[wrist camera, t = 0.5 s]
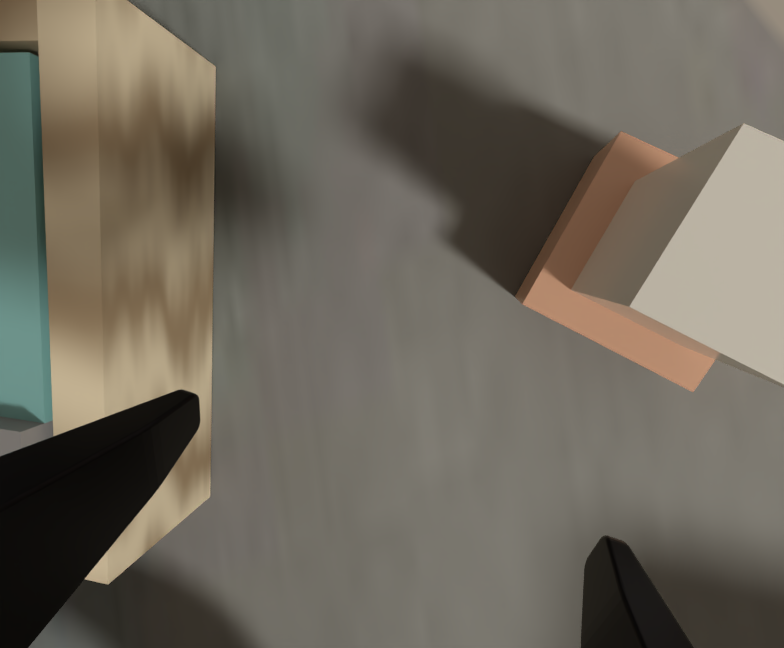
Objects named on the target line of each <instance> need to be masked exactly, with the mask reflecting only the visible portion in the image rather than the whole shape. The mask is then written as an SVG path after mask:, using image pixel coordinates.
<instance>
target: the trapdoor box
mask: <svg viewBox="0 0 784 648" xmlns="http://www.w3.org/2000/svg"><path fill="white" fill-rule="evenodd" d="M17 52H30V53H32V54H34V55H36V56H38V57H39V74H40V100H41V126H42V152H43V178H44V204H45V230H46V256H47V282H48V307H49V333H50V359H51V385H52V411H53V436H56V435H58V434H61V433H64V432H66V431H69V430H72V429H74V428H77V427H80V426H82V425H85V424H88V423H91V422H93V421H96V420H99V419H101V418H104V417H107V416H109V415H112V414H115V413H117V412H120V411H123V410H125V409H128V408H131V407H133V406H136V405H139V404H141V403H144V402H147V401H149V400H152V399H155V398H158V397H160V396H163V395H166V394H168V393H171V392H174V391H176V390H180V389H183V390H186V391H189V392H192V393H195V394H197V395H198V397H199V402H200V419H201V420H200V426H199V428H198V430H197V432H196V434H195V435H194V437H193V438H192V440H191V441H190V443H189V444H188V446H187V447H186V449H185V450H184V452H183V453H182V455H181V456H180V458H179V459H178V461H177V462H176V464H175V465H174V467H173V468H172V470H171V471H170V473H169V474H168V476H167V477H166V479H165V480H164V482H163V483H162V484H161V486H160V487H159V489H158V490H157V491H156V492H155V494H154V495H153V496H152V497H151V499H150V500H149V501H148V502H147V504H146V505H145V506H144V507H143V508H142V510H141V511H140V512H139V513H138V514H137V516H136V517H135V518H134V519H133V521H132V522H131V523H130V524H129V525H128V527H127V528H126V529H125V530H124V532H123V533H122V534H121V535H120V536H119V538H118V539H117V540H116V541H115V542H114V544H113V545H112V546H111V547H110V549H109V550H108V551H107V552H106V553H105V555H104V556H103V557H102V558H101V559H100V561H99V562H98V563H97V564H96V566H95V567H94V568H93V569H92V570H91V572H90V573H89V574H88V575H87V577H86V578H85V580H90V581H94V582H99V583H103V584H109V583H111V582H112V581H113V580H114V579H115V578H116V577H118V576H119V575H120V574H121V573H122V572H123V571H124V570H126V569H127V568H128V567H129V566H130V565H131V564H133V563H134V562H135V561H136V560H137V559H138V558H140V557H141V556H142V555H143V554H144V553H145V552H146V551H148V550H149V549H150V548H151V547H152V546H153V545H155V544H156V543H157V542H158V541H159V540H160V539H162V538H163V537H164V536H165V535H166V534H167V533H169V532H170V531H171V530H172V529H173V528H174V527H175V526H177V525H178V524H179V523H180V522H181V521H182V520H184V519H185V518H186V517H187V516H188V515H189V514H191V513H192V512H193V511H194V510H195V509H196V508H197V507H199V506H200V505H201V504H202V503H203V502H204V501H206V500H207V499H208V498H209V497H210V480H211V402H212V324H213V246H214V168H215V90H216V66H214V65H213V64H212V63H210V62H209V61H208V60H206V59H205V58H204V57H202V56H201V55H200V54H198V53H197V52H196V51H194V50H193V49H192V48H190V47H189V46H187V45H186V44H185V43H183V42H182V41H181V40H179V39H178V38H177V37H175V36H174V35H173V34H171V33H170V32H169V31H167V30H166V29H165V28H163V27H162V26H161V25H159V24H158V23H157V22H155V21H154V20H153V19H151V18H150V17H149V16H147V15H146V14H145V13H143V12H142V11H141V10H139V9H138V8H137V7H135V6H134V5H133V4H131V3H130V2H128V1H127V0H0V53H17Z"/></svg>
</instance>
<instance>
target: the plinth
mask: <svg viewBox="0 0 784 648" xmlns="http://www.w3.org/2000/svg"><path fill="white" fill-rule="evenodd" d="M676 159H678V157H676V156H674V155H672V154H669V153H667V152H665V151H663V150H661V149H659V148H656V147H654V146H652V145H650V144H648V143H645V142H643V141H641V140H639V139H637V138H635V137H632V136H630V135H628V134H626V133H624V132H622V131H621V132H620V133H619V134H617V135H616V136H615V137H614V138H613V139H612V140H611V141H610V142H609V143H608V144H607V145H606V146H605V147H604V148H603V149H602V150H600V151H599V152H598V153H597V154H596V155H595V156H594V157H593V159H592V161H591V163H590V164H589V166H588V168H587V170H586V172H585V173H584V175H583V177H582V179H581V180H580V182H579V184H578V186H577V187H576V189H575V191H574V193H573V195H572V196H571V198H570V200H569V202H568V203H567V205H566V207H565V209H564V211H563V212H562V214H561V216H560V218H559V219H558V221H557V223H556V225H555V226H554V228H553V230H552V232H551V234H550V235H549V237H548V239H547V241H546V242H545V244H544V246H543V248H542V249H541V251H540V253H539V255H538V257H537V258H536V260H535V262H534V264H533V265H532V267H531V269H530V271H529V272H528V274H527V276H526V278H525V280H524V281H523V283H522V285H521V287H520V288H519V290H518V292H517V294H516V296H515V298H516V299H518V300H519V301H520V302H521V303H522V304H523V305H525V306H527V307H529V308H531V309H533V310H535V311H537V312H539V313H541V314H542V315H544V316H546V317H548V318H550V319H552V320H554V321H556V322H558V323H560V324H562V325H564V326H566V327H568V328H570V329H572V330H573V331H575V332H577V333H579V334H581V335H583V336H585V337H587V338H589V339H591V340H593V341H595V342H597V343H599V344H601V345H603V346H605V347H606V348H608V349H610V350H612V351H614V352H616V353H618V354H620V355H622V356H624V357H626V358H628V359H630V360H632V361H634V362H636V363H637V364H639V365H641V366H643V367H645V368H647V369H649V370H651V371H653V372H655V373H657V374H659V375H661V376H663V377H665V378H667V379H668V380H670V381H672V382H674V383H676V384H678V385H680V386H682V387H684V388H686V389H688V390H690V391H692V392H694V390H695V389H696V387H697V386H698V384H699V383H700V381H701V380H702V379H703V377H704V376H705V374H706V373H707V371H708V370H709V368H710V367H711V365H712V364H713V363H714V361H715V359H713V358H710V357H708V356H705V355H703V354H700V353H698V352H695V351H693V350H690V349H688V348H686V347H683V346H681V345H679V344H677V343H675V342H673V341H671V340H669V339H667V338H665V337H663V336H661V335H659V334H657V333H655V332H653V331H651V330H649V329H647V328H645V327H643V326H641V325H639V324H637V323H635V322H633V321H631V320H629V319H627V318H625V317H623V316H621V315H619V314H617V313H615V312H613V311H611V310H609V309H607V308H605V307H604V306H602V305H600V304H598V303H596V302H594V301H592V300H590V299H588V298H586V297H584V296H582V295H580V294H578V293H576V292H574V291H572V290H571V289H572V287H573V285H574V283H575V282H576V280H577V278H578V277H579V275H580V273H581V272H582V270H583V268H584V267H585V265H586V263H587V261H588V260H589V258H590V256H591V255H592V253H593V251H594V250H595V248H596V246H597V245H598V243H599V241H600V239H601V238H602V236H603V234H604V233H605V231H606V229H607V228H608V226H609V224H610V222H611V221H612V219H613V217H614V216H615V214H616V212H617V211H618V209H619V207H620V206H621V204H622V202H623V200H624V199H625V197H626V195H627V194H628V192H629V190H630V189H631V187H632V185H633V184H634V182H635V181H636V180H638V179H640V178H642V177H644V176H646V175H648V174H649V173H651V172H653V171H655V170H657V169H659V168H661V167H663V166H664V165H666V164H668V163H670V162H672V161H674V160H676Z"/></svg>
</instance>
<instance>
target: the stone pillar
mask: <svg viewBox="0 0 784 648" xmlns="http://www.w3.org/2000/svg"><path fill="white" fill-rule="evenodd" d="M571 290H572V291H574V292H576V293H578V294H580V295H582V296H584V297H586V298H588V299H590V300H592V301H594V302H596V303H598V304H600V305H602V306H604V307H605V308H607V309H609V310H611V311H613V312H615V313H617V314H619V315H621V316H623V317H625V318H627V319H629V320H631V321H633V322H635V323H637V324H639V325H641V326H643V327H645V328H647V329H649V330H651V331H653V332H655V333H657V334H659V335H661V336H663V337H665V338H667V339H669V340H671V341H673V342H675V343H677V344H679V345H681V346H683V347H686V348H688V349H690V350H693V351H695V352H698V353H700V354H703V355H705V356H708V357H710V358H713V359H715V360H717V361H720V362H722V363H725V364H727V365H730V366H732V367H735V368H737V369H740V370H742V371H744V372H747V373H749V374H752V375H754V376H757V377H759V378H762V379H764V380H767V381H769V382H771V383H774V384H776V385H779V386H781V387H784V141H782V140H780V139H778V138H776V137H773V136H771V135H769V134H767V133H764V132H762V131H760V130H758V129H755V128H753V127H751V126H749V125H746V124H744V123H743V124H742V125H740V126H738V127H736V128H734V129H732V130H730V131H728V132H726V133H725V134H723V135H721V136H719V137H717V138H715V139H713V140H711V141H710V142H708V143H706V144H704V145H702V146H700V147H698V148H696V149H695V150H693V151H691V152H689V153H687V154H685V155H683V156H681V157H679V158H678V159H676V160H674V161H672V162H670V163H668V164H666V165H664V166H663V167H661V168H659V169H657V170H655V171H653V172H651V173H649V174H648V175H646V176H644V177H642V178H640V179H638V180H636V181H635V182H634V184H633V185H632V187H631V189H630V190H629V192H628V194H627V195H626V197H625V199H624V200H623V202H622V204H621V206H620V207H619V209H618V211H617V212H616V214H615V216H614V217H613V219H612V221H611V222H610V224H609V226H608V228H607V229H606V231H605V233H604V234H603V236H602V238H601V239H600V241H599V243H598V245H597V246H596V248H595V250H594V251H593V253H592V255H591V256H590V258H589V260H588V261H587V263H586V265H585V267H584V268H583V270H582V272H581V273H580V275H579V277H578V278H577V280H576V282H575V283H574V285H573V287H572V289H571Z"/></svg>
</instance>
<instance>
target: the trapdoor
mask: <svg viewBox="0 0 784 648" xmlns="http://www.w3.org/2000/svg"><path fill="white" fill-rule="evenodd" d="M50 437H53V411H52V385H51V359H50V333H49V307H48V282H47V256H46V230H45V204H44V178H43V152H42V126H41V100H40V74H39V57H38V56H36V55H34V54H32V53H30V52H17V53H0V456H2V455H5V454H7V453H10V452H13V451H15V450H18V449H21V448H24V447H26V446H29V445H32V444H34V443H37V442H40V441H42V440H45V439H48V438H50Z"/></svg>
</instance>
